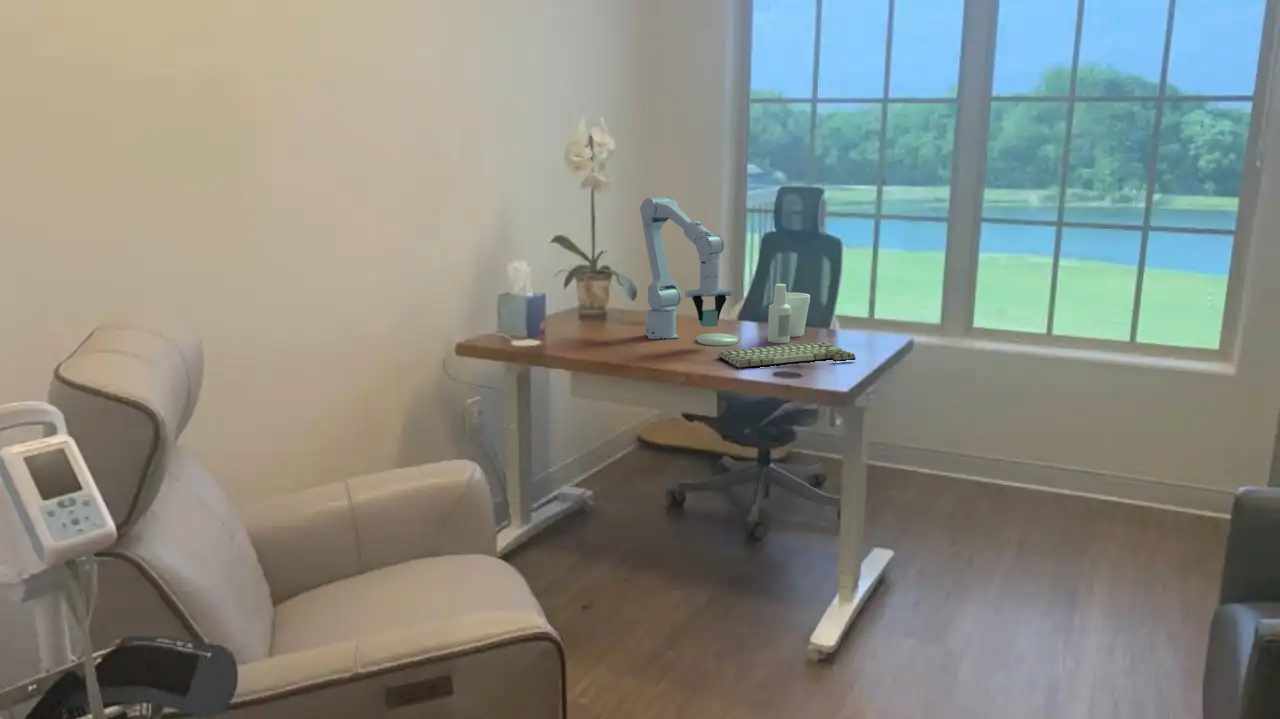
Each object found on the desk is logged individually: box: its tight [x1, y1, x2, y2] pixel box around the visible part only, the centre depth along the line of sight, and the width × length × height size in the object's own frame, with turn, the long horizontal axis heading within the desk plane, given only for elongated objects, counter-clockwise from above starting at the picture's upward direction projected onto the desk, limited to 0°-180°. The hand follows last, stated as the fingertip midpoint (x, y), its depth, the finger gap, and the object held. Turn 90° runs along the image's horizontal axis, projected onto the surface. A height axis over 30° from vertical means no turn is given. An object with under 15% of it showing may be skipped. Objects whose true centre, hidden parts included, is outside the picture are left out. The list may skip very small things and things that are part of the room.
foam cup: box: [786, 292, 811, 338], centre depth 327 cm, size 10×9×13 cm
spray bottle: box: [767, 283, 791, 344], centre depth 317 cm, size 7×7×18 cm
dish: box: [696, 332, 739, 347], centre depth 318 cm, size 13×13×1 cm
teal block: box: [699, 308, 719, 328], centre depth 308 cm, size 4×4×4 cm
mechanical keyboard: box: [717, 341, 857, 370], centre depth 294 cm, size 38×19×3 cm, turn 110°
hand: (708, 320), depth 309 cm, fingers closed on teal block, 4 cm apart
